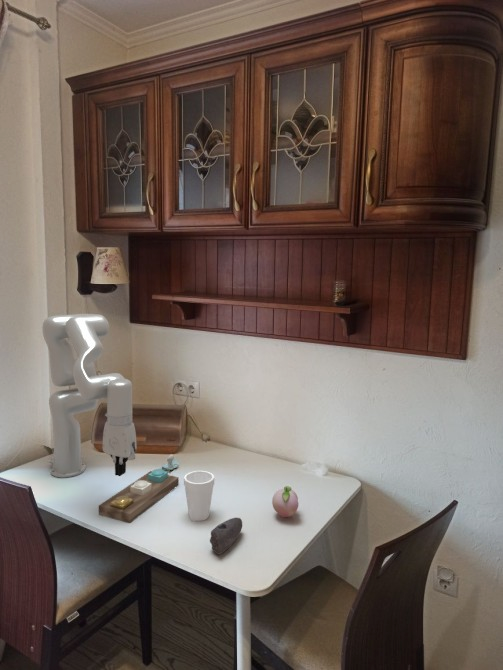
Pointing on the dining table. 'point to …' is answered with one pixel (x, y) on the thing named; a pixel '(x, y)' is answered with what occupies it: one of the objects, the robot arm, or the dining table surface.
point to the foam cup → (199, 494)
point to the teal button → (158, 475)
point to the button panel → (138, 499)
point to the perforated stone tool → (225, 534)
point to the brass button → (122, 502)
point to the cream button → (141, 487)
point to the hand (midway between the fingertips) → (120, 473)
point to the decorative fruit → (285, 502)
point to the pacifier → (170, 464)
